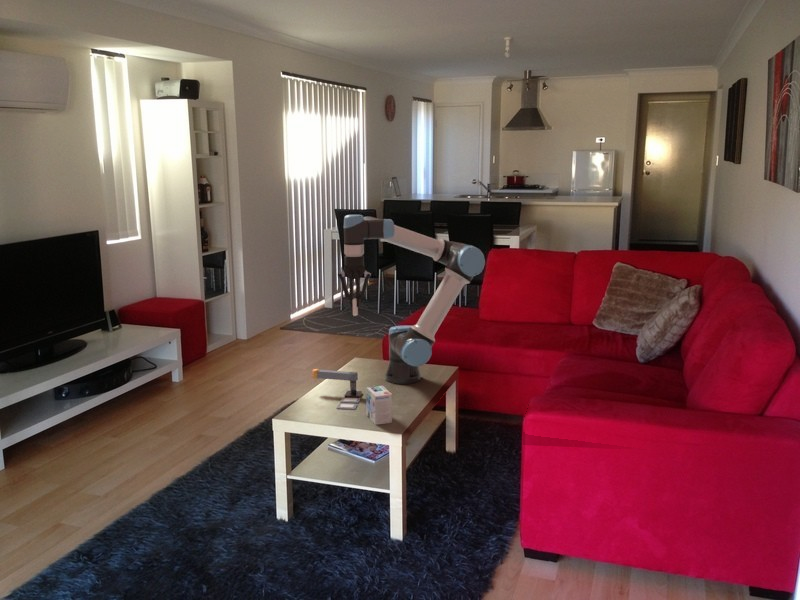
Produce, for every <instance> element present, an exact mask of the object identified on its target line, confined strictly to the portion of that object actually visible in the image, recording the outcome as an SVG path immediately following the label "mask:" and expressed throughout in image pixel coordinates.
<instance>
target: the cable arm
mask: <svg viewBox="0 0 800 600" xmlns="http://www.w3.org/2000/svg"><path fill="white" fill-rule="evenodd" d="M358 374H359V373H358V372H357V371H343V370H342V371H341V370H327V369H319V368H314V369H312V379H316V380H318V379H323V380H334V381H335V380H336V381H337V380H338V381H349V382H350V381H356V382H357V381H358V379H359V377H358Z"/></svg>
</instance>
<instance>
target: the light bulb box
mask: <svg viewBox="0 0 800 600" xmlns="http://www.w3.org/2000/svg"><path fill="white" fill-rule="evenodd" d="M365 390H366V391H365V392H366V393H365V396H366V397H365V399H366V401H365V403H366V406H365V407H366V408H365V410H366V411H365V413H366V414H365V415H366V416H367V418H368V419H369V420H370V421H371V422H372V424H374V426H375V425H376V426H377V425H382V424H383V425H384V424H390V423H393V394H392V392H390V391H389V390H388V389H387V388H386V387H385V386H384V385H378V386H377V385H376V386H369V387H366V388H365Z"/></svg>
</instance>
